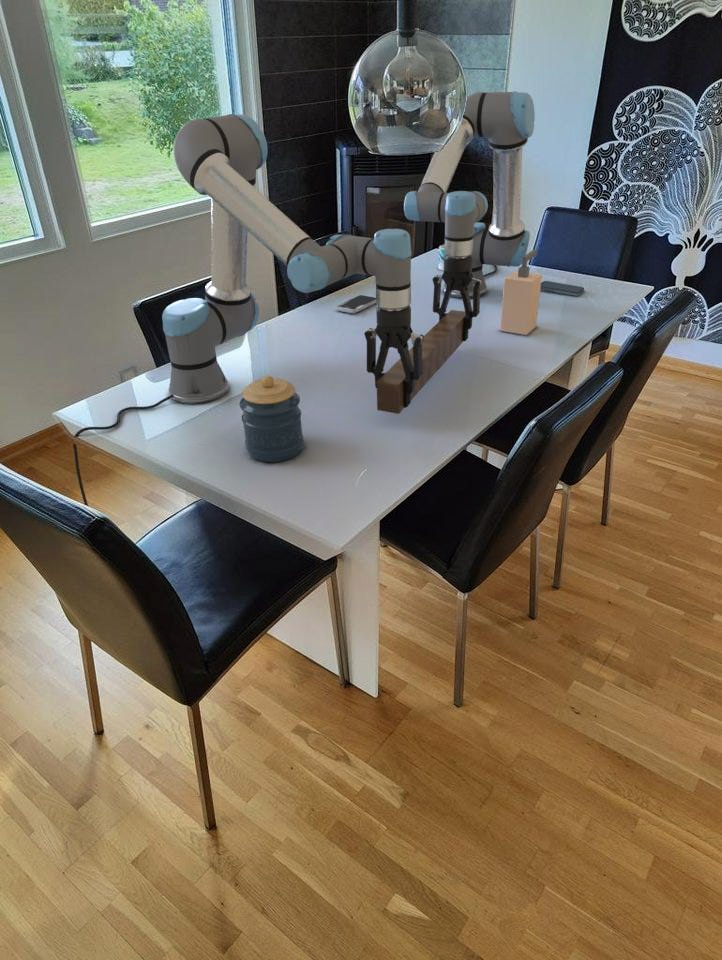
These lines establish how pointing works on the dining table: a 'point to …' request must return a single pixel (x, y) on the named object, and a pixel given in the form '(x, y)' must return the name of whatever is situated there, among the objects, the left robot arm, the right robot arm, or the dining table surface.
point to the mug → (441, 257)
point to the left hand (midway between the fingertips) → (394, 402)
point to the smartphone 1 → (356, 304)
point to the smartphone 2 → (561, 288)
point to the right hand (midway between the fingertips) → (454, 338)
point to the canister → (271, 420)
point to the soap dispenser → (521, 299)
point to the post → (434, 355)
